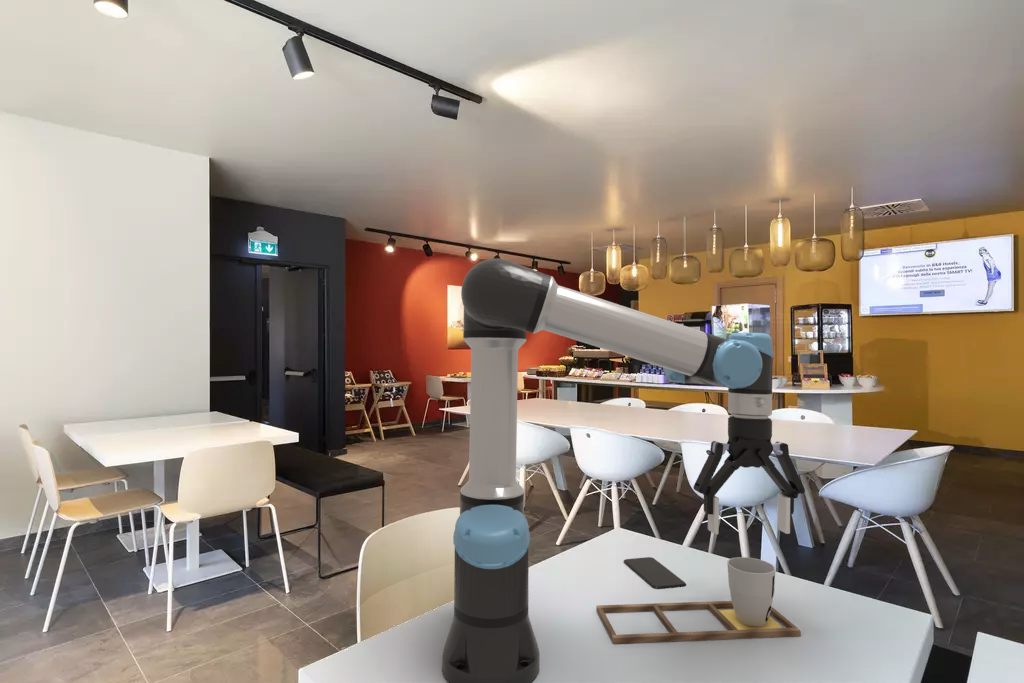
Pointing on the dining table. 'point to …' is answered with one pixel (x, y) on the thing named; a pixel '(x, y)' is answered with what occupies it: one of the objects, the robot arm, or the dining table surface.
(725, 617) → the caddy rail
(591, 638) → the dining table surface
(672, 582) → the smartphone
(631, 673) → the dining table surface
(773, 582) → the cup
